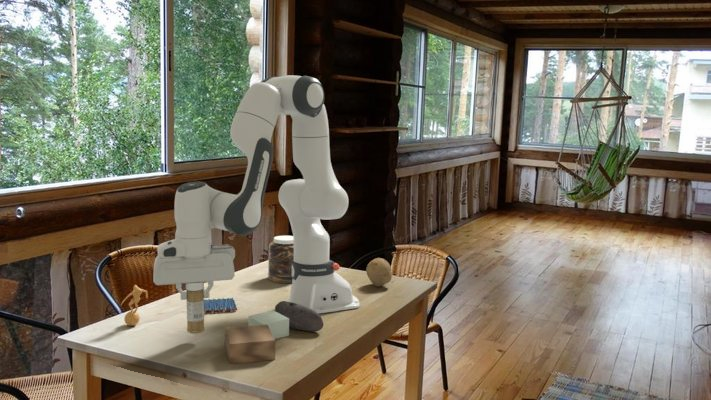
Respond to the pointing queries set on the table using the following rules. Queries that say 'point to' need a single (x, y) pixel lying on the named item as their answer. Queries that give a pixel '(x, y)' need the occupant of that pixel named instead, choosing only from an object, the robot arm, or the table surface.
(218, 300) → the woven mat
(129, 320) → the figurine
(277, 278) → the jar
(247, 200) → the robot arm
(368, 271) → the natural sponge
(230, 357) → the walnut block
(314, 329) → the perforated stone tool
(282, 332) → the grey-green block
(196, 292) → the sprinkles bottle
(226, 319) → the table surface
